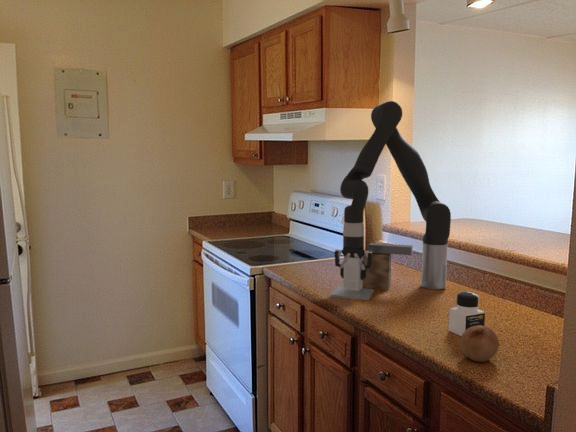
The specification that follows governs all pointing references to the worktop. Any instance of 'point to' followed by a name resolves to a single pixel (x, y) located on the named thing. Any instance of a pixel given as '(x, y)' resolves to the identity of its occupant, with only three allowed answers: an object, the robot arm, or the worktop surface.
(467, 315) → the medicine bottle
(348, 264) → the skincare box
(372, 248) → the bar
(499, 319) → the worktop surface
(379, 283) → the walnut block
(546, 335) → the worktop surface
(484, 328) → the onion
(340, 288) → the slate pad
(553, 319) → the worktop surface
